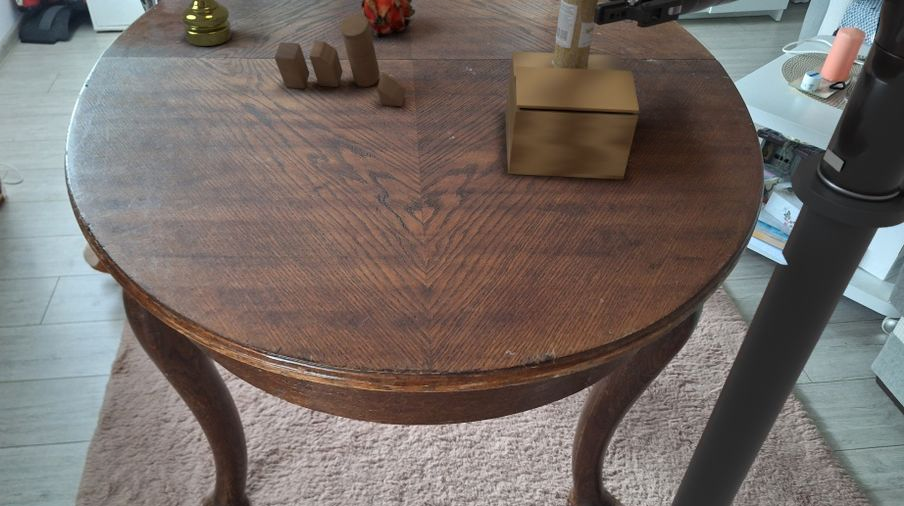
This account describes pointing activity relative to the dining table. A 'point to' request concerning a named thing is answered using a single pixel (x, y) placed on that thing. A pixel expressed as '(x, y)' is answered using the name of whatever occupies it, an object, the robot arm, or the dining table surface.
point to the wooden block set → (329, 63)
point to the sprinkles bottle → (574, 33)
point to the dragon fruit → (387, 15)
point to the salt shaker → (206, 23)
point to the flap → (576, 89)
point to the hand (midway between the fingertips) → (574, 2)
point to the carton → (566, 131)
